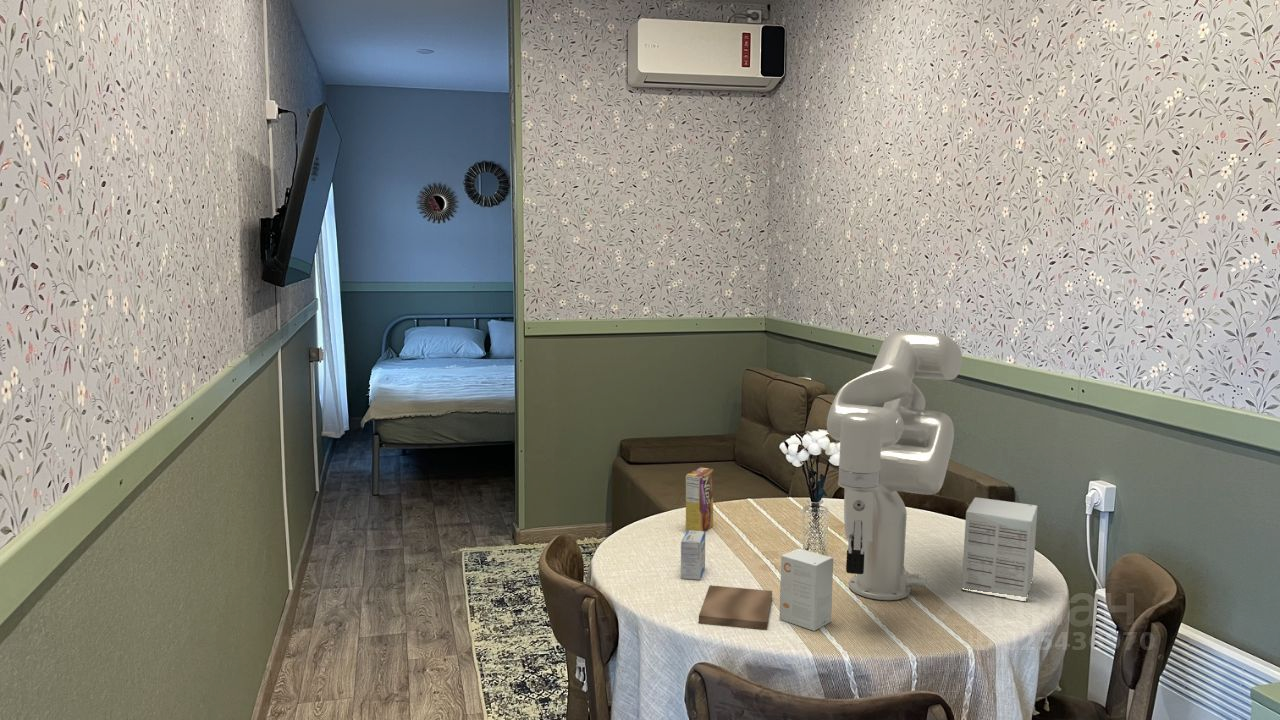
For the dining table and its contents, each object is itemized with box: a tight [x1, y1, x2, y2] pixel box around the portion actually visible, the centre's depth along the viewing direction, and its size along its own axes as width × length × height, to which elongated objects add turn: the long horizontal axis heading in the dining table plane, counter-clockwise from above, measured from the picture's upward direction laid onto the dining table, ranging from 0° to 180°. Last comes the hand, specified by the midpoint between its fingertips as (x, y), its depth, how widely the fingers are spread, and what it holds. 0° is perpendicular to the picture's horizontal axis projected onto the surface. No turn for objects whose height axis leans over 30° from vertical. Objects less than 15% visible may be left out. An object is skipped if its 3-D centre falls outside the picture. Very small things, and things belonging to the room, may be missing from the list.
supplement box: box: [961, 496, 1038, 597], centre depth 193 cm, size 13×13×18 cm
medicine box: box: [680, 530, 706, 581], centre depth 198 cm, size 8×4×9 cm, turn 168°
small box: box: [779, 548, 834, 632], centre depth 174 cm, size 8×6×13 cm
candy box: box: [685, 467, 714, 533], centre depth 229 cm, size 9×4×15 cm, turn 152°
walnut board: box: [698, 584, 773, 630], centre depth 179 cm, size 13×16×2 cm
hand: (854, 572), depth 171 cm, fingers closed
